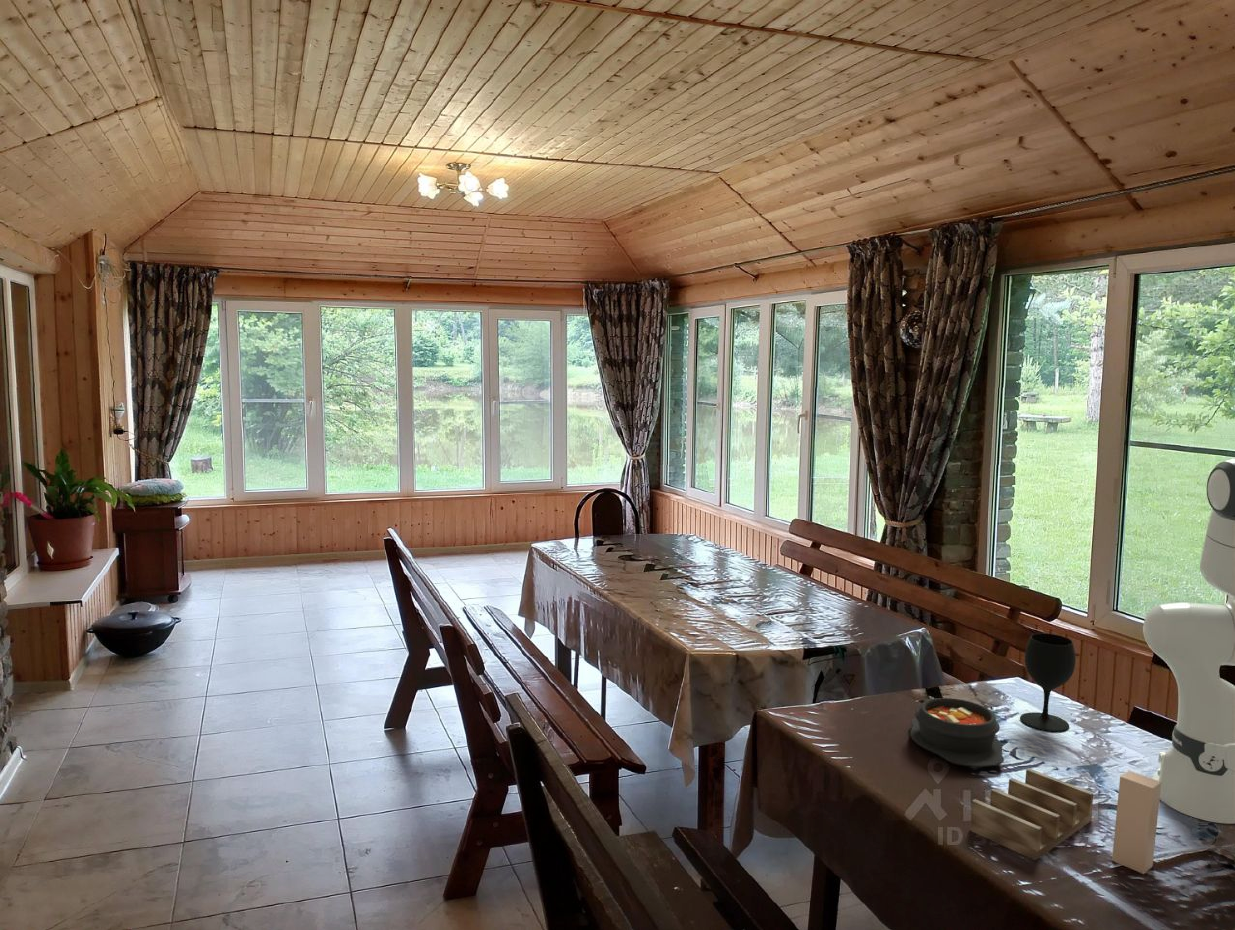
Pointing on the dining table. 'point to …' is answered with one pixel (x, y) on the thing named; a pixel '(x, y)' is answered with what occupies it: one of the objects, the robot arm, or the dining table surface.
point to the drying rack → (1032, 814)
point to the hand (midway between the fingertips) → (1223, 746)
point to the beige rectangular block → (1136, 821)
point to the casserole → (958, 732)
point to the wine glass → (1048, 675)
